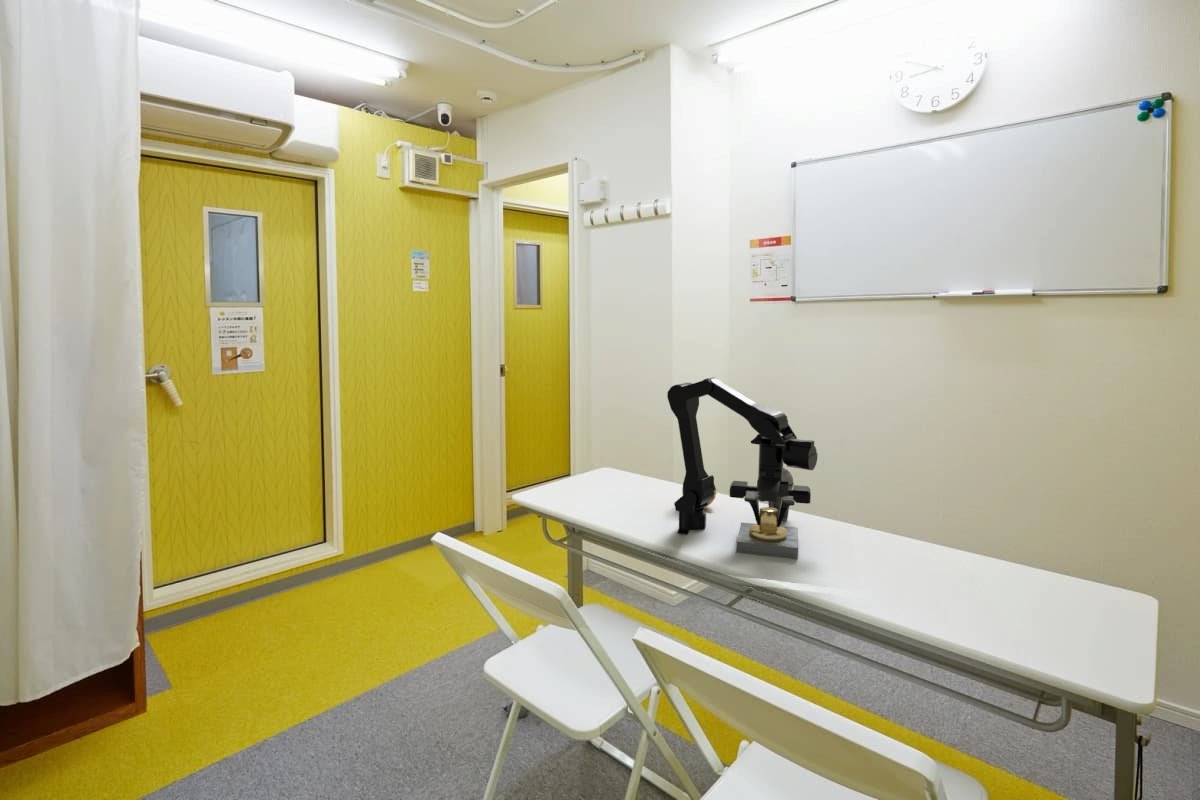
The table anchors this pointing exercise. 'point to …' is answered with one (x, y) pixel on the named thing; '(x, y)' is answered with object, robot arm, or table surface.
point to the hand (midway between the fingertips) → (768, 525)
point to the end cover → (768, 526)
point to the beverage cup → (788, 478)
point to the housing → (768, 544)
